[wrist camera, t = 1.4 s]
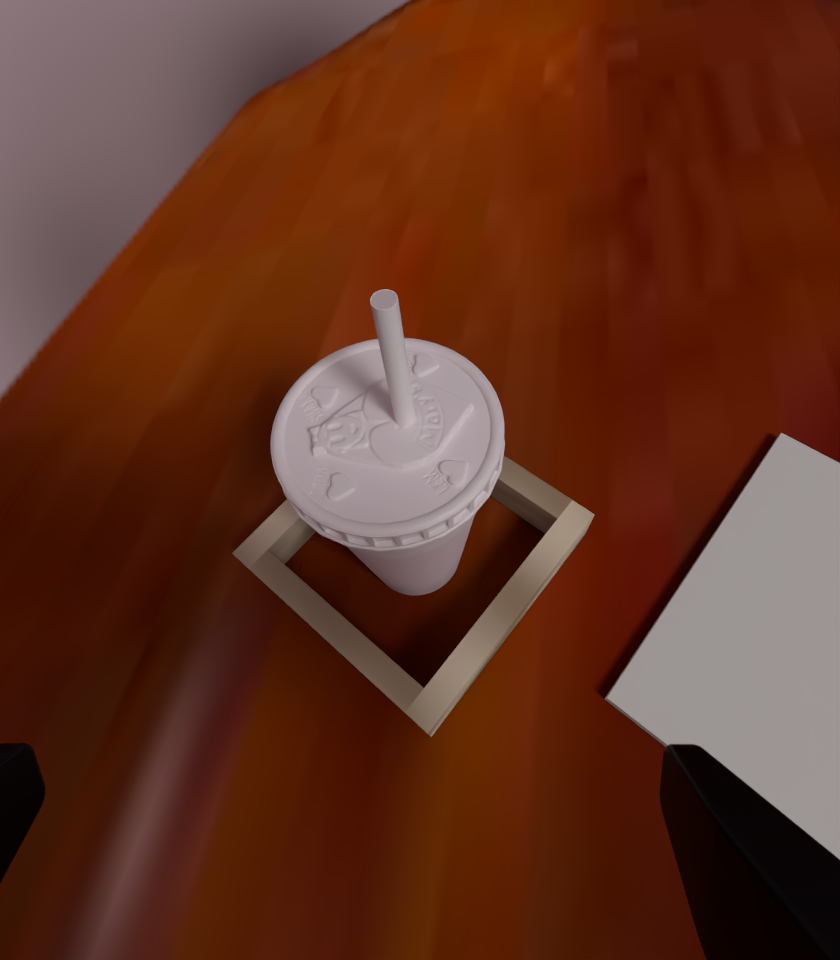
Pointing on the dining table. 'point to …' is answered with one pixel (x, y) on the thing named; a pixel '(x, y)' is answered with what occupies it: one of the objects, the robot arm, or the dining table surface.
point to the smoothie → (391, 451)
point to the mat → (757, 643)
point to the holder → (475, 650)
